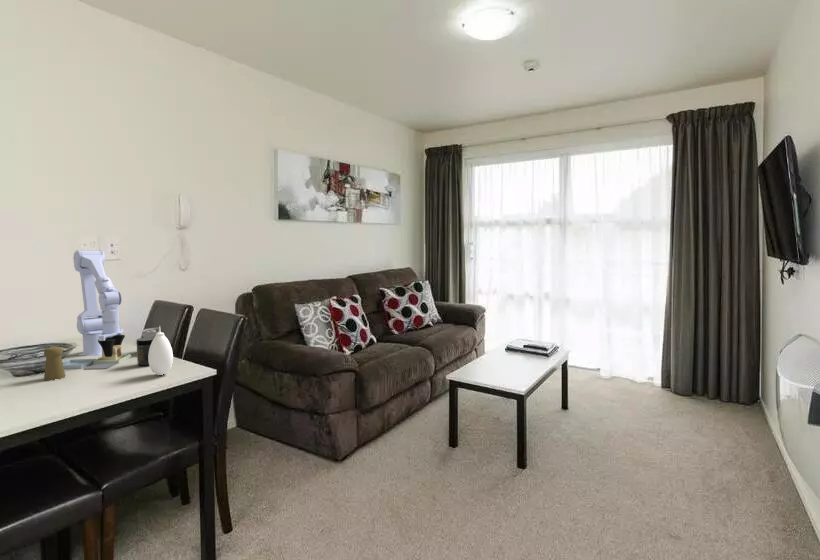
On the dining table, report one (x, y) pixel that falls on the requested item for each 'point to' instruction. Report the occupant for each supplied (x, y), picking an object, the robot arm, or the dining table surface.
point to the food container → (150, 332)
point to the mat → (100, 366)
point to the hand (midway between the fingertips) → (112, 354)
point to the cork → (54, 363)
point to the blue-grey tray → (77, 363)
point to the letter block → (114, 353)
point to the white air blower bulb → (160, 354)
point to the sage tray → (100, 361)
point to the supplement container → (143, 351)
